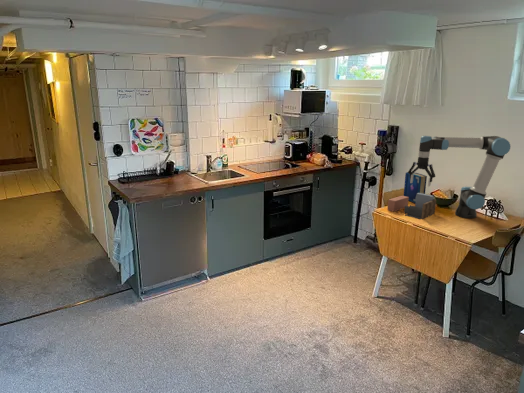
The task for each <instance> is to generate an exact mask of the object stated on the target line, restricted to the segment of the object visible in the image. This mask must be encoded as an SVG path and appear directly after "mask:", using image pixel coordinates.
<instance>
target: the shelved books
mask: <svg viewBox="0 0 524 393" xmlns="http://www.w3.org/2000/svg"><path fill="white" fill-rule="evenodd" d="M434 199H436V197H435V195H431V194H426V193H425V194H422V193H417V195H416V203H414V204H415V205H414V206H416V207H420V208H423V204H424V203H426V202H429V201H431V200H434Z"/></svg>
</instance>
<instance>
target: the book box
mask: <svg viewBox="0 0 524 393" xmlns="http://www.w3.org/2000/svg"><path fill="white" fill-rule="evenodd" d="M408 200H409V197H406V196H404V195H399V196H397V197H392V198H389V199H388V200H387V211H390V212H393V211H394V212H398V211H400V209H401V210H403V208H404V209H405V206H409V201H408Z"/></svg>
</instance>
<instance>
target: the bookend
mask: <svg viewBox="0 0 524 393" xmlns="http://www.w3.org/2000/svg"><path fill="white" fill-rule="evenodd" d="M403 211H404V212H403V213H404V214H405V216H407V217H410V218H413V219H416V220H417V219H418V220H422V219H421V216H422V208H420V207H416V206H415V205H412V204H410V205H408V206H405V208H404V210H403Z"/></svg>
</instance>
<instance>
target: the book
mask: <svg viewBox="0 0 524 393" xmlns="http://www.w3.org/2000/svg"><path fill="white" fill-rule="evenodd" d="M413 174H414V176H413V183H410V180H411V179H410V174H409V173H408V171H407V172H405V178H404V187H403V188H404V189H403V196H406V197H409V200H408V202H411V203H413V204H415V203H416V195H417V193H422V194H426V188H427V187H426V186H427V177H428V176H427V175H425V174H422V173H419V172H414V173H413Z"/></svg>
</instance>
